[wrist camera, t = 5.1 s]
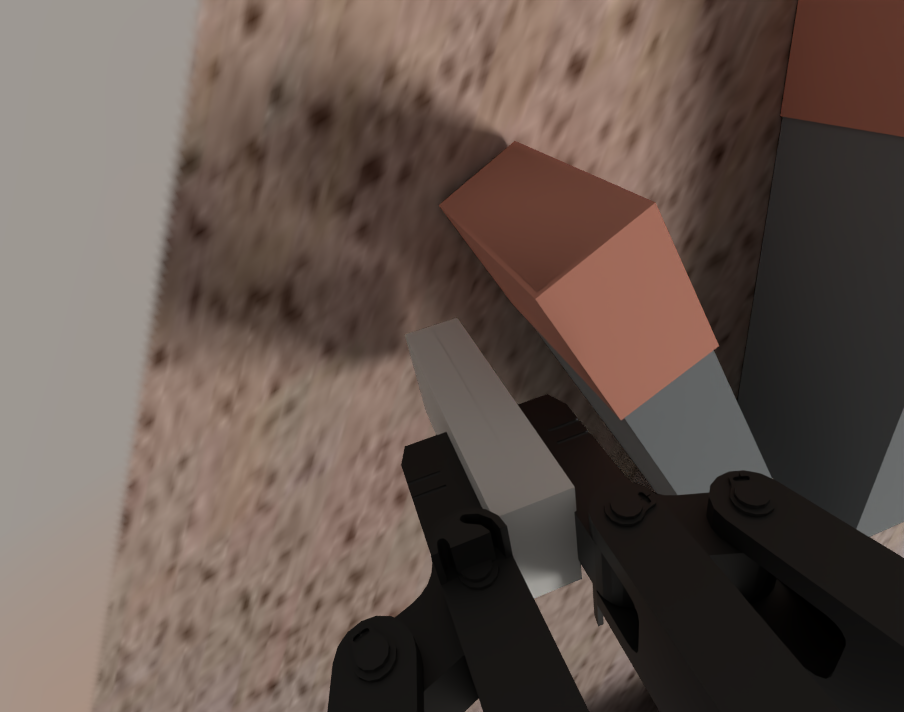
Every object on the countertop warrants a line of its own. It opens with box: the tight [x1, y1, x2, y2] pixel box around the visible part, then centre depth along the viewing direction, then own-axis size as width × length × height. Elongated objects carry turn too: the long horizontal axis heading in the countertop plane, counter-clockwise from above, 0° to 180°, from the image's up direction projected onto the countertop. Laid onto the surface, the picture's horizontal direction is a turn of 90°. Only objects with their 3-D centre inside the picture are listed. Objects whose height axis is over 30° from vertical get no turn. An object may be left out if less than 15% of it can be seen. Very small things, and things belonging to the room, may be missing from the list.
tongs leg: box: [439, 141, 772, 495], centre depth 17 cm, size 18×3×6 cm, turn 35°
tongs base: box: [737, 0, 904, 537], centre depth 18 cm, size 24×5×7 cm, turn 10°
